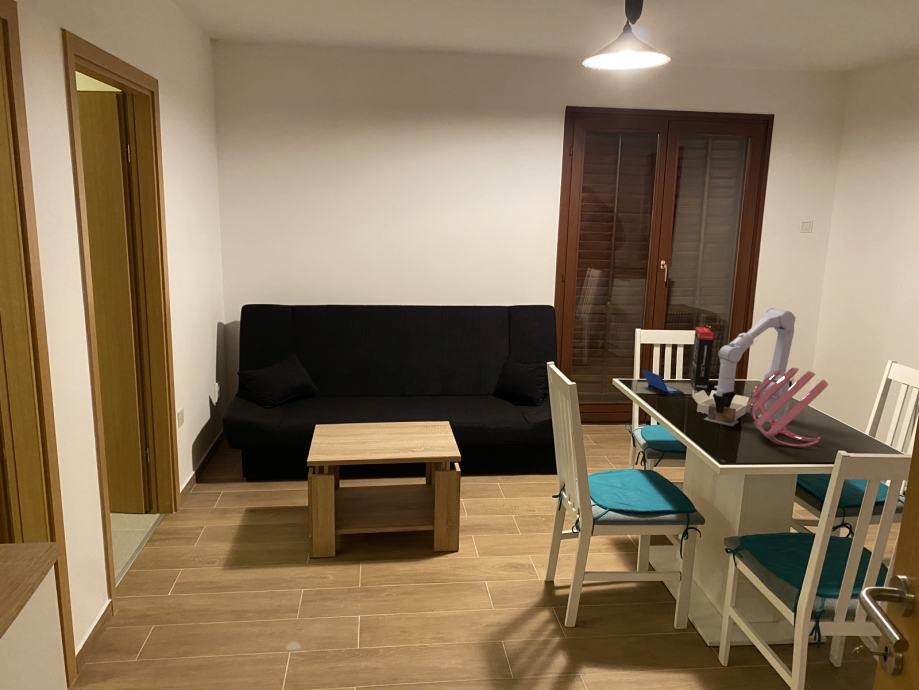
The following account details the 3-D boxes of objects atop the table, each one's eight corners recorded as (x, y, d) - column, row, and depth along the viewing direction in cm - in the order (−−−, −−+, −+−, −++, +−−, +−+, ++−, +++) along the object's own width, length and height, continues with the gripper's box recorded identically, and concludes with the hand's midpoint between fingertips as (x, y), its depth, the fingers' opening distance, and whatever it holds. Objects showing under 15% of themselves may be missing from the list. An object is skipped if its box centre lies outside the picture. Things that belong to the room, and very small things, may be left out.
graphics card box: (708, 391, 312) (716, 333, 307) (692, 390, 314) (699, 331, 309) (703, 383, 329) (710, 327, 324) (688, 381, 330) (694, 326, 325)
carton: (754, 414, 279) (756, 398, 278) (742, 422, 267) (744, 406, 265) (703, 403, 292) (705, 388, 291) (689, 410, 279) (691, 395, 278)
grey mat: (738, 422, 266) (739, 421, 266) (732, 426, 260) (732, 425, 260) (710, 415, 273) (710, 414, 273) (703, 419, 267) (703, 418, 266)
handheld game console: (685, 396, 304) (687, 375, 302) (659, 397, 299) (661, 376, 298) (664, 387, 318) (666, 367, 316) (639, 387, 314) (641, 368, 312)
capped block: (734, 421, 265) (735, 409, 264) (730, 423, 262) (732, 411, 261) (710, 416, 271) (712, 404, 270) (707, 418, 268) (709, 406, 267)
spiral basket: (867, 395, 237) (802, 342, 247) (838, 428, 219) (769, 369, 229) (813, 441, 256) (755, 390, 266) (783, 474, 238) (722, 418, 248)
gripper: (722, 372, 271) (718, 405, 274) (710, 377, 260) (705, 412, 262) (740, 375, 267) (736, 408, 269) (729, 381, 256) (724, 416, 258)
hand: (722, 410), depth 266 cm, fingers open, 7 cm apart
